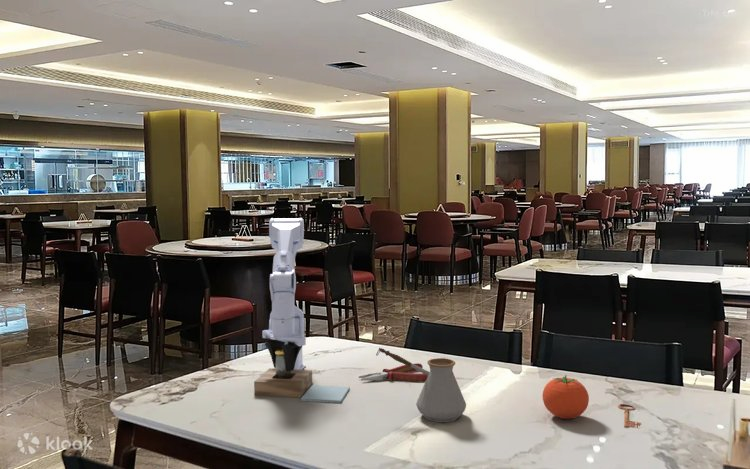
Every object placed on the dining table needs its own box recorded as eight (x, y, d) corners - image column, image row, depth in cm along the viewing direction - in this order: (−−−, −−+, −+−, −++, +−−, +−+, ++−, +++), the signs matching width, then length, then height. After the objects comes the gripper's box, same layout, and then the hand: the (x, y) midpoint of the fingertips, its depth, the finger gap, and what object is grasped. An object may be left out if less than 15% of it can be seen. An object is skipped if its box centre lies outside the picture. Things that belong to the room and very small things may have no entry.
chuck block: (269, 380, 179) (269, 368, 179) (312, 383, 177) (312, 370, 177) (254, 394, 168) (254, 381, 167) (300, 397, 166) (299, 383, 165)
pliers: (354, 376, 185) (354, 367, 185) (421, 370, 191) (421, 361, 191) (365, 389, 174) (365, 379, 174) (436, 382, 180) (436, 373, 180)
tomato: (586, 411, 155) (587, 370, 154) (589, 427, 145) (591, 383, 144) (542, 408, 157) (542, 367, 157) (542, 423, 148) (542, 379, 147)
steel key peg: (271, 380, 172) (271, 350, 171) (283, 377, 175) (283, 347, 175) (283, 383, 169) (283, 352, 169) (295, 380, 172) (295, 349, 172)
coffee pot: (470, 410, 156) (470, 348, 155) (461, 428, 145) (461, 361, 144) (383, 401, 162) (383, 341, 161) (369, 417, 152) (368, 353, 150)
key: (644, 433, 144) (643, 410, 158) (645, 428, 144) (644, 406, 158) (616, 427, 146) (618, 405, 160) (616, 423, 146) (618, 401, 160)
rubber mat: (312, 387, 174) (312, 385, 174) (349, 389, 172) (349, 386, 172) (301, 400, 163) (301, 398, 163) (340, 403, 161) (340, 400, 161)
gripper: (253, 316, 173) (253, 367, 174) (290, 323, 163) (291, 377, 164) (273, 312, 178) (274, 361, 179) (311, 319, 169) (311, 371, 170)
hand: (283, 368), depth 172 cm, fingers closed on steel key peg, 4 cm apart
